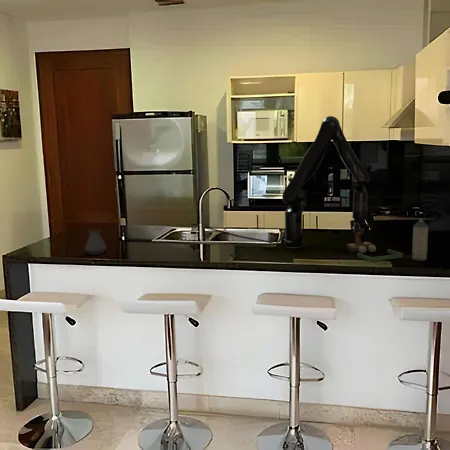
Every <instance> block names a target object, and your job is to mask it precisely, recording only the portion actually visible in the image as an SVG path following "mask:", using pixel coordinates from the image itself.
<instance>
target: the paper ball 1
mask: <svg viewBox="0 0 450 450" xmlns="http://www.w3.org/2000/svg"><path fill="white" fill-rule="evenodd" d="M366 250H367V249H366V247H365V246H360V247H359V252H358V253H360V254H363V255H365V254H366V252H367V251H368V250H367V251H366Z"/></svg>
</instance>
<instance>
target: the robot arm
mask: <svg viewBox="0 0 450 450" xmlns="http://www.w3.org/2000/svg"><path fill="white" fill-rule="evenodd" d="M331 142H333V144H334V146H335V148H336V150H337V153H338V154H339V157H340V159H341V161H342V163H343V164H344V166H345V168H346V169H347V171H349V172H350V173H351V174H352V176H351V186H352V190H353V191H352V192H353V193H352V195H353V197H352V219H351V220H349V225H350V231H351V232H352V234H353V241H355V233H357V232H361V242H366V236H367V235H369V232H370V227H371V225H370V223H367V221H366V220H367V219H368V191H367V190H366V185H368V183H370V175H369V173H368V171H367V170H366V168H365V167H364V166H363V165H362V164H361V163H360V161H359V158H358V157H357V155H356V154H355V152H354V150H353V149H352V147H351V146H350V144H349V142H348V140H347V138H346V136H345V135H344V132H343V130H342V126H341V123H340V121H339V119H338V118H337V117H335V116H333V115H328V116H326V117H325V118H324V119H323V120H322V121H321V124H320V127H319V130H318V133H317V135H316V136H315V139H314V141H313V142H312V144H311V145H310V146H309V147H308V149H307V151H306V152H305V153H304V155H303V157H302V159H301V160H300V163H299V165H298V166H297V169H296V170H295V173H294V174H293V177H292V178H291V180H290V181H289V183H288V184H287V186H286V187H285V189H284V190H283V192H282V195H281V196H282V197H281V198H282V201H283V203H284V204H286V205H287V209H286V210H285V211H284V234H283V235H281V237H280V238H279V239H278V240H277V241H276V242H273V241H271V240H266V239H260V238H254V237H249V236H244V235H240V234H235V233H231V232H227V231H224V230H221V229H217V228H214V227H209V226H205V225H204V226H205V227H204V228H205V229H210V230H213V231H217V232H220V233H223V234H227V235H231V236H234V237H239V238H244V239H248V240H253V241H259V242H260V241H261V242H265V243H269V244H273V245H274V244H275V245H277V244H279V243H280V242H281V240H282V241H284V248H286V249H289V250H290V249H291V250H292V249H293V250H297V249H302V248H303V212H304V209H305V208H304V207H305V205H304V204H305V194H304V191H303V189H302V188H303V187H304V186H305V184H306V183H307V182H308V181H309V180H310V179H311V178H312V177H313V176H314V174H315V173H316V172H317V170H318V168H319V166H320V165H321V163H322V161H323V158H324V157H325V154H326V151H327V149H328V147H329V145H330V144H331ZM190 225H192V226H197V227H200V226H199V225H200V224H196V223H190Z"/></svg>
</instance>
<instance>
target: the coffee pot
mask: <svg viewBox="0 0 450 450" xmlns="http://www.w3.org/2000/svg"><path fill="white" fill-rule="evenodd" d="M100 225H101V221H98V222H97V225H96V228H94V229H93V228H92V229H89V230H88V233H89V235H88V237H87V241H86V244H85V246H84V251H85V252H86V254H88V255H90V256H98V255H99V256H100V255H102V254H104V253H105V251H106V250H107V245H106V244H105V242H104V240H103V238H102V236H101V231H102V230H101V229H100Z"/></svg>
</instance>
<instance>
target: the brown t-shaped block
mask: <svg viewBox="0 0 450 450" xmlns="http://www.w3.org/2000/svg"><path fill="white" fill-rule="evenodd" d="M370 245H373V244H372V242H368V241H365V242H361V232H360V231H358V232H357V233H355V240H354V243H346V246H345V251H346V252H349V253H360V252H359V247H360V246H365V247H366V249H367V250H366V252H367V251H369V250H368V247H369V246H370Z"/></svg>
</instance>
